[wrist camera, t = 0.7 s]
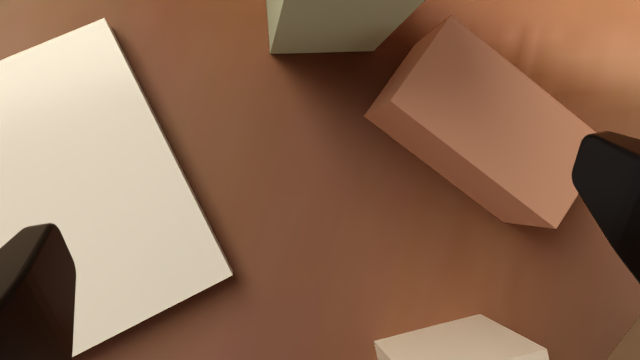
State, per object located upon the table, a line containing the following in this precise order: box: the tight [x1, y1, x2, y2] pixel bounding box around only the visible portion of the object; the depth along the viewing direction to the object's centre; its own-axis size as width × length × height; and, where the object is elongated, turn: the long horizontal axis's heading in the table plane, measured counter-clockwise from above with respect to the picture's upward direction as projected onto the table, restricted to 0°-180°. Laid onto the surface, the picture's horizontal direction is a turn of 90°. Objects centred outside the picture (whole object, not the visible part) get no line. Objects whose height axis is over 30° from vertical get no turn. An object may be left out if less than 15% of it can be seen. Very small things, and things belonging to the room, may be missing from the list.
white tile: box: [0, 18, 233, 357], centre depth 19 cm, size 11×11×1 cm
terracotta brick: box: [364, 15, 596, 229], centre depth 21 cm, size 8×4×4 cm, turn 54°
